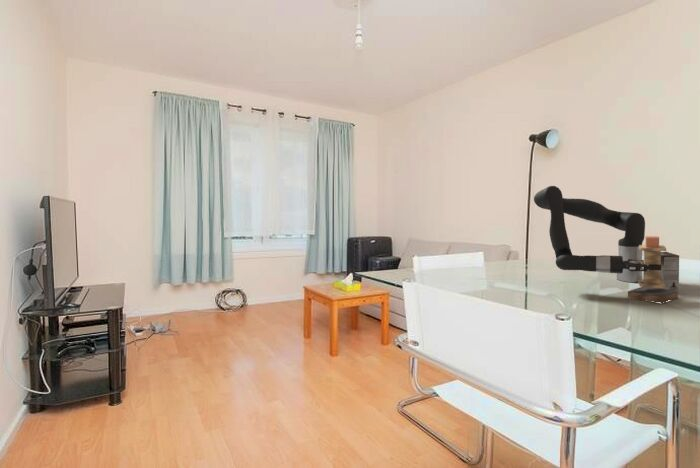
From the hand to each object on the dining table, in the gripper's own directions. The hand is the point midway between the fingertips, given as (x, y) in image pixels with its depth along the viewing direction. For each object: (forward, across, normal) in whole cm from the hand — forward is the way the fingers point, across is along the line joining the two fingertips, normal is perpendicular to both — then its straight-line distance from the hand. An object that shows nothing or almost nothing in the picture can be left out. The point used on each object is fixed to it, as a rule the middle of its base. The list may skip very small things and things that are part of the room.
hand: (660, 266), depth 148 cm
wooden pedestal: (-3, 0, +8) cm, 8 cm away
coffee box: (+3, +16, +14) cm, 21 cm away
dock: (-2, 0, +14) cm, 14 cm away
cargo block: (-3, 0, -8) cm, 8 cm away
